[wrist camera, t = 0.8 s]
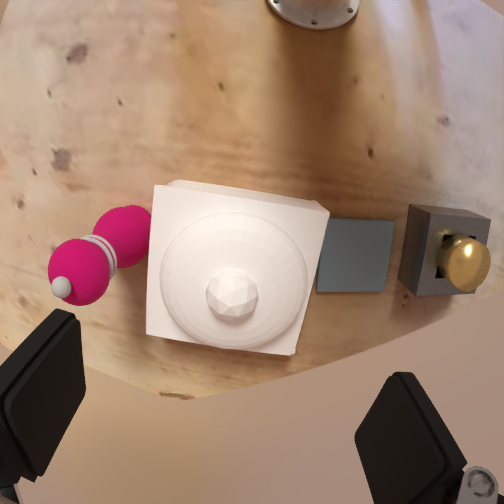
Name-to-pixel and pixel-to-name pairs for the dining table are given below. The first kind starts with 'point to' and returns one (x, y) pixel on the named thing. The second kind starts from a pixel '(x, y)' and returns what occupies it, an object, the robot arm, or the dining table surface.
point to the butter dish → (231, 266)
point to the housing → (435, 246)
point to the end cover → (463, 261)
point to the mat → (354, 255)
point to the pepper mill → (99, 255)
